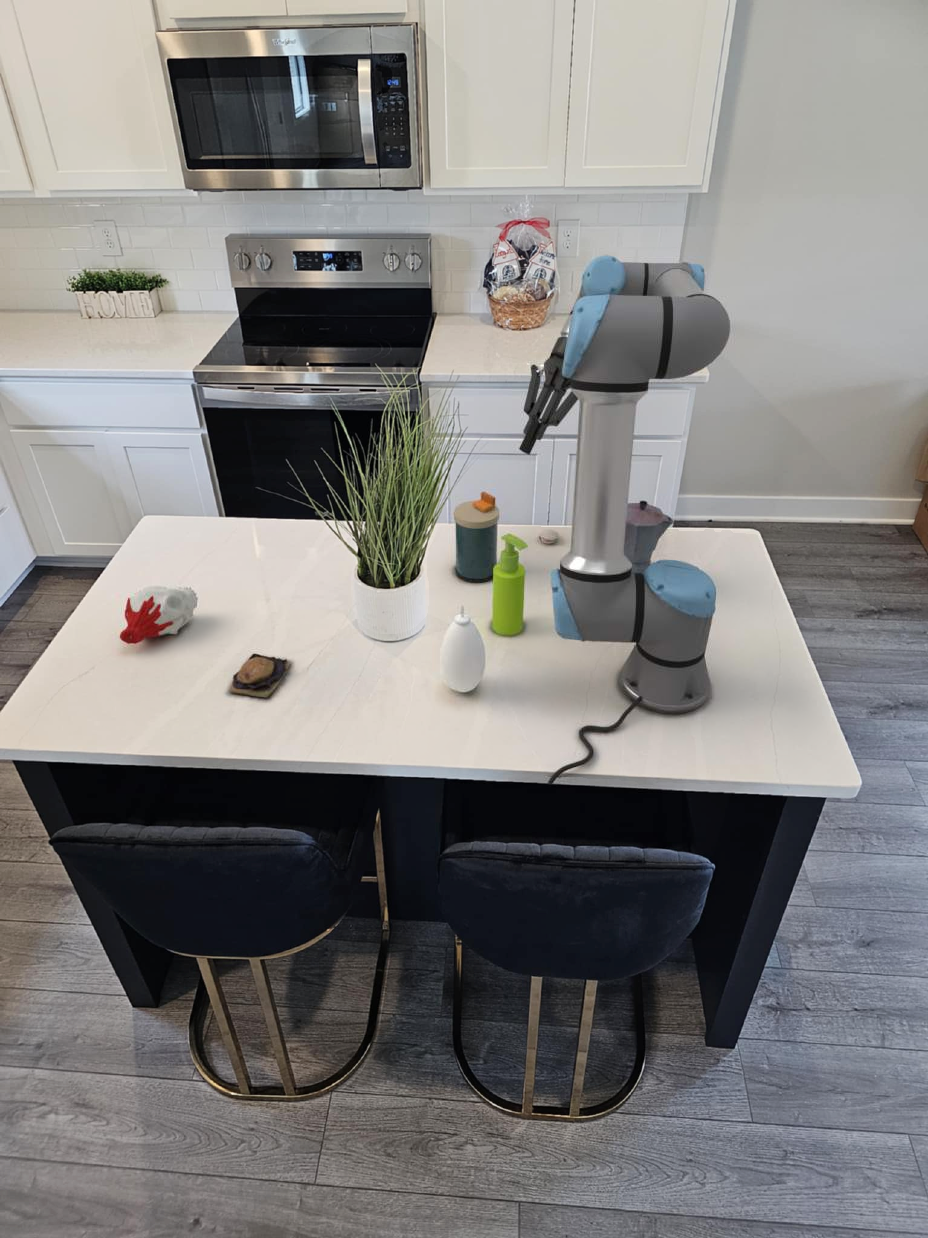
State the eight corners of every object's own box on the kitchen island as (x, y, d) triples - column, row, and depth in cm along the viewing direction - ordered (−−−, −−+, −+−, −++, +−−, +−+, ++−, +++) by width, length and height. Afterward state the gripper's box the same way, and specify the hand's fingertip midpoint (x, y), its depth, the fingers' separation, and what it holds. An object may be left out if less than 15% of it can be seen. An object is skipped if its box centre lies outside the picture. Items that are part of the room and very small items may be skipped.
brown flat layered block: (269, 701, 147) (266, 684, 145) (225, 693, 149) (221, 676, 147) (294, 663, 155) (292, 647, 153) (252, 656, 157) (249, 640, 155)
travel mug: (478, 555, 186) (478, 496, 178) (506, 572, 180) (508, 511, 172) (445, 570, 181) (444, 509, 173) (474, 588, 176) (474, 526, 167)
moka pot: (662, 603, 170) (676, 515, 159) (585, 595, 173) (594, 508, 161) (663, 578, 178) (676, 492, 166) (589, 571, 181) (597, 486, 169)
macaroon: (534, 540, 191) (535, 530, 190) (551, 533, 194) (551, 523, 192) (547, 547, 189) (548, 537, 187) (564, 540, 191) (565, 531, 190)
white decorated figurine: (205, 613, 168) (162, 665, 157) (156, 602, 171) (111, 652, 160) (193, 578, 162) (148, 629, 151) (143, 567, 165) (95, 617, 154)
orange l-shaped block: (483, 501, 175) (483, 491, 174) (495, 507, 173) (495, 497, 172) (472, 505, 174) (472, 495, 172) (484, 512, 171) (484, 501, 170)
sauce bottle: (490, 678, 152) (491, 595, 141) (478, 706, 145) (478, 621, 135) (448, 670, 153) (446, 587, 143) (434, 698, 147) (432, 613, 137)
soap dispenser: (509, 642, 160) (513, 550, 149) (486, 625, 165) (487, 535, 153) (532, 630, 163) (537, 540, 152) (508, 614, 168) (511, 525, 156)
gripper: (608, 360, 171) (556, 468, 174) (553, 340, 176) (504, 444, 179) (599, 347, 164) (545, 459, 167) (542, 326, 169) (491, 435, 172)
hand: (524, 451), depth 173 cm, fingers closed
